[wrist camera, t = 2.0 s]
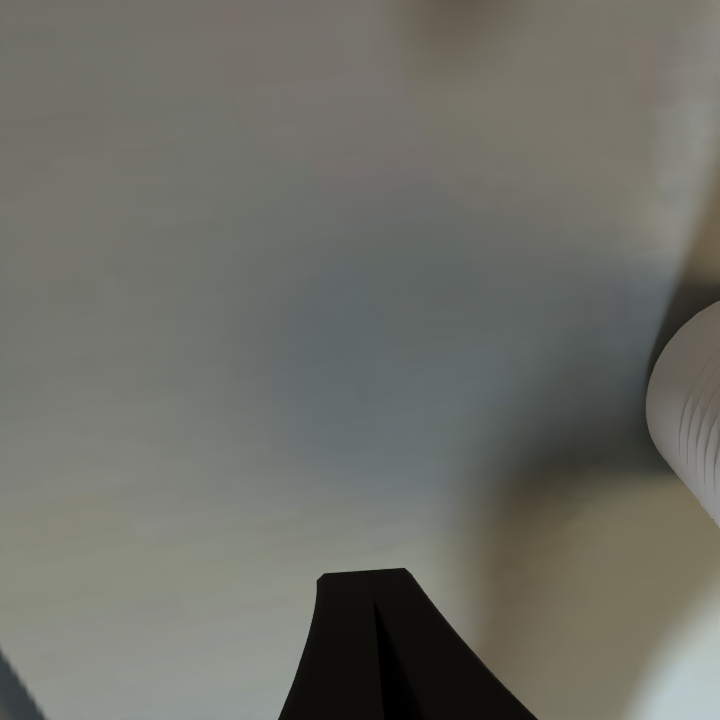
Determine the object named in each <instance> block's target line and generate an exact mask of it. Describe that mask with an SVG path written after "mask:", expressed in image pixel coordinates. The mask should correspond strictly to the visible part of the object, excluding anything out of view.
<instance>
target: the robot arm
mask: <svg viewBox="0 0 720 720" xmlns="http://www.w3.org/2000/svg"><path fill="white" fill-rule="evenodd" d="M278 720H538V719H537V718H536V717H535V716H534V715H533V714H532V713H531V712H530V711H529V710H528V709H527V708H526V707H525V706H524V705H523V704H522V703H521V702H520V701H519V700H518V699H517V698H516V697H515V696H514V695H513V694H512V693H511V692H510V691H509V690H508V689H507V688H506V687H505V686H504V685H503V684H502V683H501V682H500V681H499V680H498V679H497V678H496V677H495V676H494V674H493V673H492V672H491V671H490V670H489V669H488V668H487V667H486V666H485V665H484V664H483V662H482V661H481V660H480V659H479V658H478V657H477V656H476V654H475V653H474V652H473V651H472V650H471V649H470V648H469V647H468V645H467V644H466V643H465V642H464V641H463V640H462V639H461V637H460V636H459V635H458V634H457V633H456V631H455V630H454V629H453V628H452V627H451V625H450V624H449V623H448V622H447V620H446V619H445V618H444V617H443V615H442V614H441V613H440V612H439V610H438V609H437V608H436V607H435V605H434V604H433V603H432V601H431V600H430V599H429V598H428V596H427V595H426V594H425V592H424V591H423V590H422V588H421V587H420V585H419V584H418V583H417V581H416V580H415V578H414V577H413V576H412V574H411V573H410V572H409V571H407V570H406V569H405V568H396V569H381V570H367V571H353V572H338V573H324V574H323V575H322V576H321V577H320V578H319V579H318V580H317V595H316V603H315V609H314V614H313V619H312V623H311V627H310V631H309V635H308V638H307V641H306V645H305V648H304V651H303V654H302V657H301V660H300V663H299V667H298V670H297V673H296V676H295V678H294V681H293V684H292V687H291V689H290V692H289V694H288V697H287V699H286V701H285V704H284V706H283V709H282V711H281V714H280V716H279V719H278Z"/></svg>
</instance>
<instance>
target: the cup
mask: <svg viewBox="0 0 720 720" xmlns="http://www.w3.org/2000/svg"><path fill="white" fill-rule="evenodd" d="M646 420H647V424H648V428H649V432H650V436H651V438H652V440H653V442H654V444H655V446H656V448H657V450H658V452H659V453H660V454H661V455H662V457H663V458H664V459H665V460H666V462H667V463H668V464H669V465H670V467H671V468H672V469H673V471H674V472H675V473H676V474H677V476H678V477H679V478H680V479H681V481H682V482H683V483H684V484H685V486H686V487H687V488H688V489H689V490H690V492H691V493H692V494H693V495H694V497H695V498H696V499H697V500H698V501H699V503H700V504H701V505H702V507H703V508H704V509H705V510H706V512H707V513H708V514H709V515H710V517H711V518H712V519H713V521H714V522H715V523H716V524H717V525H718V526H719V528H720V301H718V302H715V303H713V304H712V305H710V306H708V307H707V308H705V309H704V310H702V311H700V312H699V313H697V314H696V315H695V316H693V317H692V318H691V319H690V320H689V321H688V322H686V323H685V324H684V325H683V326H682V327H681V328H680V329H679V330H678V331H677V332H676V334H675V335H674V336H673V337H672V338H671V340H670V341H669V342H668V343H667V344H666V346H665V348H664V350H663V351H662V353H661V355H660V356H659V358H658V360H657V362H656V364H655V366H654V369H653V372H652V375H651V377H650V380H649V384H648V390H647V396H646Z"/></svg>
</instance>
